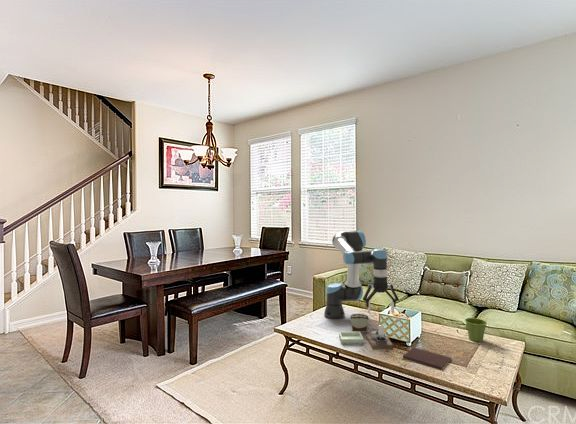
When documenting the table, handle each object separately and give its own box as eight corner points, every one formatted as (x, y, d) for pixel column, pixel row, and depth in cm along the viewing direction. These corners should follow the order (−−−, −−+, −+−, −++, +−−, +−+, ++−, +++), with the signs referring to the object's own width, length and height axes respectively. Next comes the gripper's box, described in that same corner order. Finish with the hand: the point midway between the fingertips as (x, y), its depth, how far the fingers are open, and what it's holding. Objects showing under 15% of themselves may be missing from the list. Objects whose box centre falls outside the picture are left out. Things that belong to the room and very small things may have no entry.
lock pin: (377, 341, 194) (377, 324, 194) (383, 341, 194) (382, 324, 194) (379, 343, 191) (379, 326, 191) (384, 343, 191) (384, 326, 191)
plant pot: (465, 341, 197) (464, 322, 197) (464, 334, 207) (464, 316, 207) (488, 345, 191) (488, 325, 191) (486, 337, 202) (486, 319, 202)
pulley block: (366, 337, 205) (366, 328, 205) (385, 337, 205) (385, 328, 205) (371, 348, 189) (371, 339, 189) (393, 348, 189) (393, 339, 189)
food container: (367, 328, 221) (367, 313, 221) (369, 331, 215) (369, 316, 215) (349, 328, 222) (349, 313, 222) (350, 331, 216) (349, 316, 216)
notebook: (413, 349, 188) (413, 346, 188) (451, 360, 174) (451, 356, 174) (402, 359, 177) (402, 355, 177) (441, 371, 163) (441, 367, 163)
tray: (339, 336, 208) (339, 331, 208) (359, 336, 207) (359, 331, 207) (341, 344, 196) (341, 339, 196) (363, 344, 196) (363, 339, 195)
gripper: (359, 277, 188) (360, 314, 188) (404, 277, 188) (404, 314, 188) (357, 275, 196) (358, 310, 196) (400, 274, 195) (400, 310, 195)
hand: (380, 312), depth 192 cm, fingers open, 13 cm apart
